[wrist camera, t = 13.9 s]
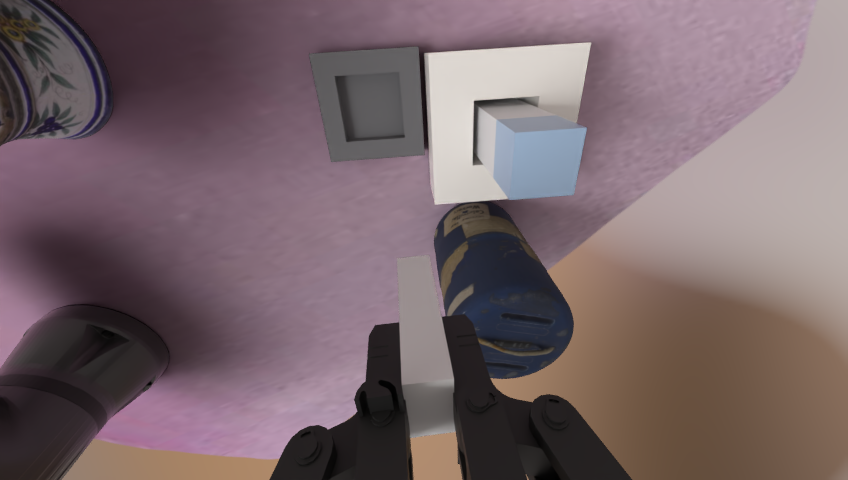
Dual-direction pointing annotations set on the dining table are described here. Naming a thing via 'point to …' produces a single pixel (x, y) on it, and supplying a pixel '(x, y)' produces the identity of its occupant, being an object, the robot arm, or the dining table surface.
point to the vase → (49, 75)
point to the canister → (500, 290)
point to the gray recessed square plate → (370, 102)
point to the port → (483, 80)
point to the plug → (527, 148)
